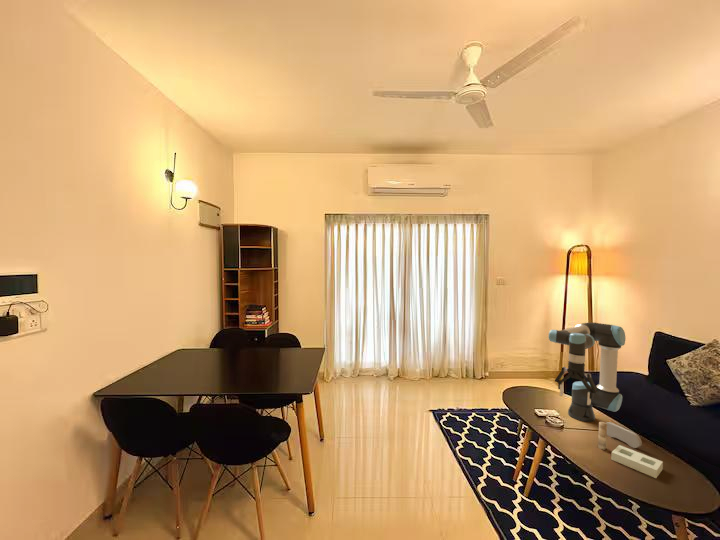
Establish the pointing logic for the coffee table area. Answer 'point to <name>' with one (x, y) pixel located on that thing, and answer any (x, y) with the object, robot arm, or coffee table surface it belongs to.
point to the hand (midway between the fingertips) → (574, 399)
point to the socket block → (637, 461)
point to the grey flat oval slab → (623, 435)
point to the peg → (602, 435)
